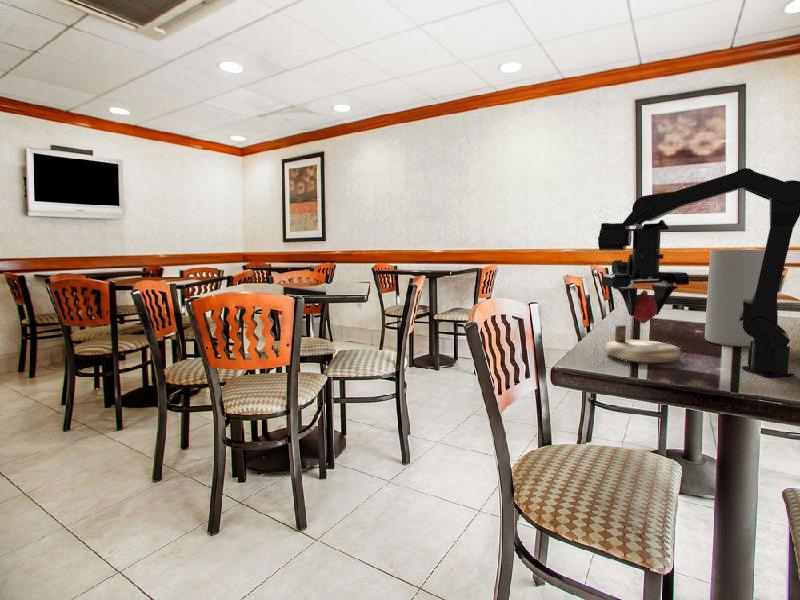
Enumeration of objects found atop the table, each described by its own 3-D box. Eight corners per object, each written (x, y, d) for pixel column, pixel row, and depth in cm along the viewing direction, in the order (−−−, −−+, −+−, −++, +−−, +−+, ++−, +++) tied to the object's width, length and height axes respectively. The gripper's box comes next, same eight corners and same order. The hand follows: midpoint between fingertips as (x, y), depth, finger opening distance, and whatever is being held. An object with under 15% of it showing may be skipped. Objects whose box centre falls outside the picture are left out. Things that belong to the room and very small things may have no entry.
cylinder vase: (703, 335, 134) (708, 250, 130) (757, 339, 127) (764, 249, 124) (705, 344, 123) (711, 251, 120) (764, 349, 117) (772, 251, 113)
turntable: (695, 357, 107) (697, 333, 106) (644, 365, 101) (645, 340, 101) (638, 343, 122) (639, 322, 121) (591, 350, 116) (592, 327, 115)
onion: (654, 326, 106) (655, 292, 105) (627, 324, 110) (628, 291, 109) (658, 322, 111) (659, 289, 110) (632, 320, 115) (633, 288, 114)
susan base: (681, 362, 106) (681, 360, 106) (632, 365, 105) (632, 362, 105) (649, 350, 118) (649, 348, 118) (604, 352, 117) (604, 350, 117)
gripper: (661, 248, 117) (658, 308, 119) (591, 250, 115) (589, 311, 117) (692, 249, 106) (689, 315, 108) (615, 251, 104) (613, 318, 106)
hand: (643, 315), depth 110 cm, fingers closed on onion, 6 cm apart
